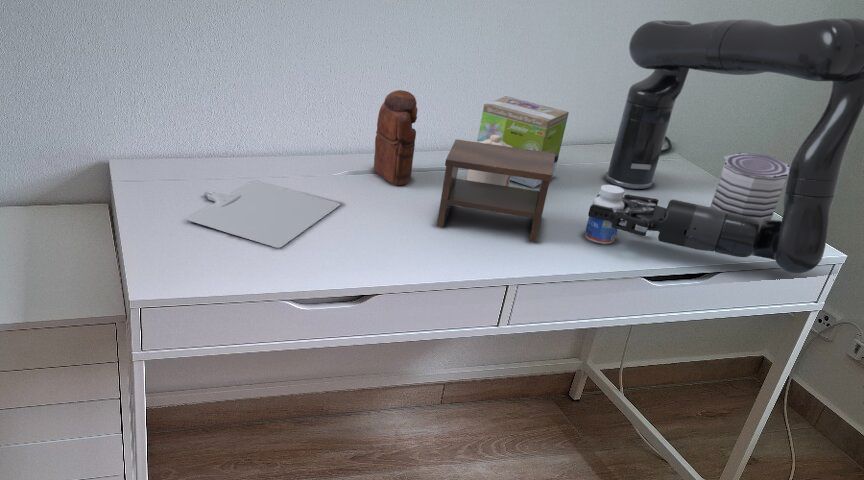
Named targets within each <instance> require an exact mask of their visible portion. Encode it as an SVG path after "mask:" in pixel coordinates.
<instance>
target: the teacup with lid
mask: <svg viewBox="0 0 864 480" xmlns="http://www.w3.org/2000/svg"><path fill="white" fill-rule="evenodd" d="M479 143H486V144H493V145H500V146H507V147H512V146H510V145H507V144H506V143H505V142H503V141H501V137H500V136H499V135H492V136H491V137H490V139H487V140H484V141H480V142H479ZM510 177H511V176H510V175H503V174H497V173H490V172H483V171H477V170H470V169H467V172H466V178H465V180H469V181H475V182H482V183H489V184H495V185H502V186H508V187H510V181H511V180H510Z"/></svg>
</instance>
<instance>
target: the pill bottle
mask: <svg viewBox="0 0 864 480" xmlns="http://www.w3.org/2000/svg"><path fill="white" fill-rule="evenodd" d="M598 194H599V195H600V196H598V197H597V196H595V198H594V199H593V201H592V204H591V205H593V204H594V205H599V206H604V207H609V208H613V209H624V203H623V201H622V200H621V199H622V197H624V195H625V189H624V187H621V186H617V185H615V184H603V185H601V186H600V189H599V193H598ZM613 209H612V210H613ZM611 225H612V224H611V223H609V221H606V220H601V219H597V218H592V217H589V216H588V220H587V224H586V227H585V231H584V237H585V238H586V239H587V240H588V241H590V242H593V243H596V244H602V245H603V244H604V245H609V244H612V243H614V242H615V241H616V237H617V234H618V231H619V229H615V228H612V227H611Z"/></svg>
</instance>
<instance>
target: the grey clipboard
mask: <svg viewBox="0 0 864 480" xmlns="http://www.w3.org/2000/svg"><path fill="white" fill-rule="evenodd" d="M203 196H204V197H207V199H208V200H209V201H212V202H213V203H211V204H209V205H207V206H206V207H204V208H202V209H200V210H199V211H197V212H195V213H194V214H191V215H190V216H188V217H187V218H186V220H187V221H189V222H192V223H195V224H197V225H201V226H204V227H208V228H211V229H214V230H217V231H220V232H224V233H226V234H227V233H228V234H230V235H233V236H238V237H240V238H244V239H247V240H250V241H253V242H257V243H259V244H262V245H266V246H269V247H272V248H277V249H281V248H282V247H284V246H285V245H287V244H288V243H289V242H291V241H292V240H293V239H295V238H297V236H299V235H300V234H302V233H303V232H305V231H306V230H308V229H309V228H311V227H312V226H313V225H315V224H316V223H317V222H319V221H320V220H321V219H323V218H325V217H326V216H327V215H329V214H330V213H332V212H333V211H334V210H336V209H337V208H339V207H340V206H341V203H339V202H336V201H333V200H330V199H329V200H328V199H325V198H321V197H318V196H315V195H311V194H307V193H304V192H300V191H296V190H293V189H290V188H286V187H282V186H278V185H275V184H271V183H267V182H264V181H260V180H252V181H250V182H249V183H247V184H245V185H243V186H241V187H239V188H238V189H236V190H234V191H233V192H231V193H221V192H217V191H211V192H208V191H204V192H203Z"/></svg>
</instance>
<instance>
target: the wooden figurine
mask: <svg viewBox="0 0 864 480" xmlns="http://www.w3.org/2000/svg"><path fill="white" fill-rule="evenodd" d="M417 119H418V107H417V99H416V96H415V95H414V94H412V93H411V92H409V91H407V90H402V89H399V90H394V91H391V92H389V94H387V95H386V96H385V98H384V101H383V103H382V104H381V106H380V108H379V112H378V116H377V123H376V132H375V134H376V135H375V139H374V157H373V169H374V173H376V174H377V175H379V176H380V177H382V178H383V179H384V180H386V181H387V182H388V183H390V184H391V185H393V186H404V185H406V184H408V183H409V182H410V181H411V177H412V172H413V171H412V170H413V162H414V154H415V147H416V146H415V145H416V144H415V143H416V137H417V131H416V129H415V128H413V124H415V123H416V122H417Z"/></svg>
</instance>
